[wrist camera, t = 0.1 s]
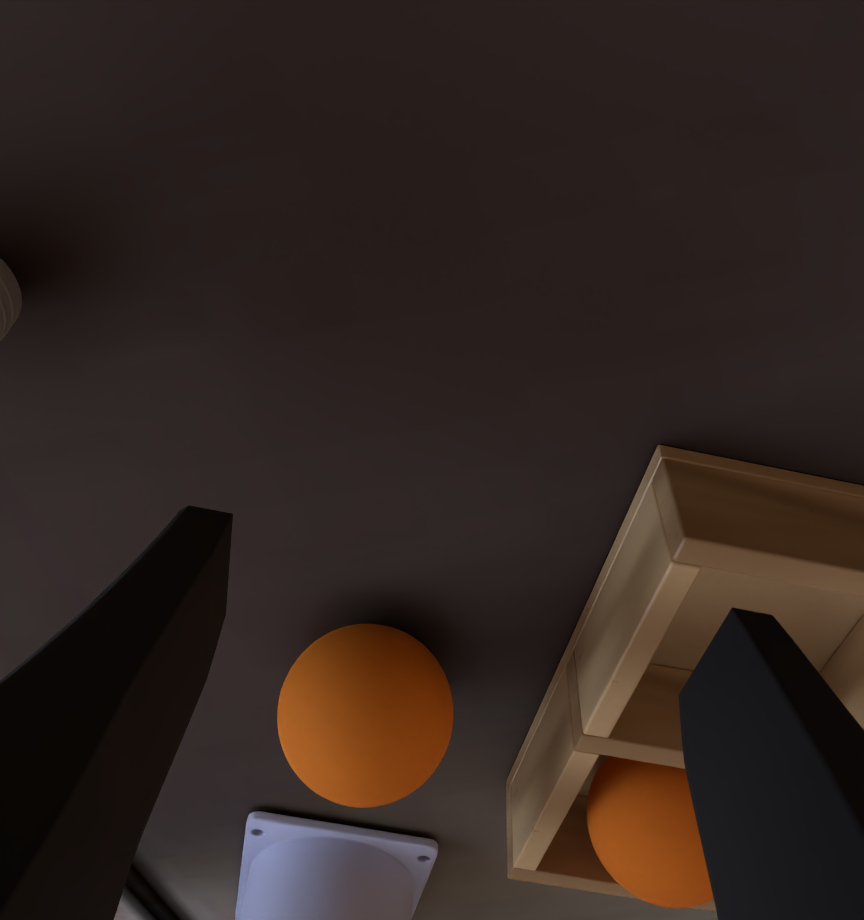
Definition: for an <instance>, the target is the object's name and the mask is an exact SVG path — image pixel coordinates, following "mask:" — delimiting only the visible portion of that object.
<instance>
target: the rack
mask: <svg viewBox="0 0 864 920" xmlns="http://www.w3.org/2000/svg"><path fill="white" fill-rule="evenodd" d="M732 607H733V608H738V609H744V610H749V611H754V612H760V613H765V614H770V615H773V616H774V617H775V619H776V620H777V621H778V622H779V623H780V625H781V626H782V627H783V628H784V629H785V631H786V632H787V633H788V634H789V635H790V637H791V638H792V639H793V641H794V642H795V643H796V644H797V646H798V647H799V648H800V649H801V651H802V652H803V653H804V654H805V656H806V657H807V658H808V660H809V661H810V662H811V663H812V665H813V666H814V667H815V669H816V670H817V671H818V672H819V674H820V675H821V676H822V678H823V679H824V680H825V681H826V683H827V684H828V685H829V687H830V688H831V689H832V690H833V692H834V693H835V694H836V696H837V697H838V698H839V699H840V701H841V702H842V703H843V704H844V706H845V707H846V708H847V710H848V711H849V712H850V713H851V715H852V716H853V717H854V718H855V720H856V721H857V722H858V723H859V725H860V726H861V727H862V728H863V730H864V486H863V485H858V484H853V483H848V482H843V481H838V480H833V479H828V478H823V477H818V476H813V475H808V474H803V473H798V472H793V471H788V470H783V469H778V468H773V467H768V466H763V465H758V464H753V463H748V462H743V461H738V460H733V459H728V458H723V457H718V456H713V455H708V454H703V453H698V452H693V451H688V450H683V449H678V448H673V447H668V446H664V445H658V446H657V448H656V450H655V453H654V455H653V457H652V459H651V462H650V464H649V466H648V468H647V470H646V473H645V475H644V477H643V479H642V481H641V484H640V486H639V488H638V490H637V492H636V495H635V497H634V499H633V501H632V504H631V506H630V508H629V510H628V512H627V515H626V517H625V519H624V521H623V523H622V526H621V528H620V530H619V532H618V535H617V537H616V539H615V541H614V543H613V546H612V548H611V550H610V552H609V554H608V557H607V559H606V561H605V563H604V566H603V568H602V570H601V572H600V574H599V577H598V579H597V581H596V583H595V585H594V588H593V590H592V592H591V594H590V597H589V599H588V601H587V603H586V605H585V608H584V610H583V612H582V614H581V616H580V619H579V621H578V623H577V625H576V628H575V630H574V632H573V634H572V636H571V639H570V641H569V643H568V645H567V647H566V650H565V652H564V654H563V656H562V659H561V661H560V663H559V665H558V667H557V670H556V672H555V674H554V676H553V678H552V681H551V683H550V685H549V687H548V690H547V692H546V694H545V696H544V698H543V701H542V703H541V705H540V707H539V709H538V712H537V714H536V716H535V718H534V721H533V723H532V725H531V727H530V729H529V732H528V734H527V736H526V738H525V740H524V743H523V745H522V747H521V749H520V751H519V754H518V756H517V758H516V760H515V763H514V765H513V767H512V769H511V771H510V774H509V776H508V778H507V780H506V793H507V795H506V811H507V872H508V878H509V879H515V880H521V881H527V882H534V883H540V884H546V885H552V886H559V887H565V888H571V889H578V890H584V891H590V892H596V893H603V894H609V895H615V896H621V897H628V898H634V899H640V898H638V897H636V896H635V895H633V894H631V893H630V892H628V891H627V890H626V889H624V888H623V887H622V886H621V885H620V884H619V883H618V882H616V881H615V880H614V878H613V877H612V876H611V875H610V874H609V873H608V871H607V870H606V869H605V867H604V866H603V864H602V863H601V861H600V859H599V858H598V856H597V854H596V851H595V849H594V847H593V844H592V841H591V838H590V834H589V830H588V824H587V799H588V794H589V790H590V786H591V783H592V781H593V778H594V776H595V774H596V772H597V770H598V769H599V767H600V766H601V764H602V763H603V761H604V760H605V759H606V758H607V757H608V756H613V757H619V758H624V759H630V760H636V761H642V762H648V763H654V764H659V765H665V766H671V767H677V768H683V769H685V764H684V756H683V746H682V736H681V723H680V709H679V694H680V692H681V690H682V689H683V687H684V685H685V684H686V682H687V681H688V679H689V677H690V676H691V674H692V672H693V671H694V669H695V667H696V666H697V664H698V662H699V661H700V659H701V657H702V656H703V654H704V653H705V651H706V649H707V648H708V646H709V644H710V643H711V641H712V639H713V638H714V636H715V634H716V633H717V631H718V630H719V628H720V626H721V625H722V623H723V621H724V620H725V618H726V616H727V615H728V613H729V611H730V610H731V608H732ZM640 900H642V899H640ZM690 908H697V909H703V910H709V911H716V907H715V902H714V899H713V900H712V901H710V902H707V903H705V904H702V905H698V906H694V907H690ZM716 912H717V911H716Z"/></svg>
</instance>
